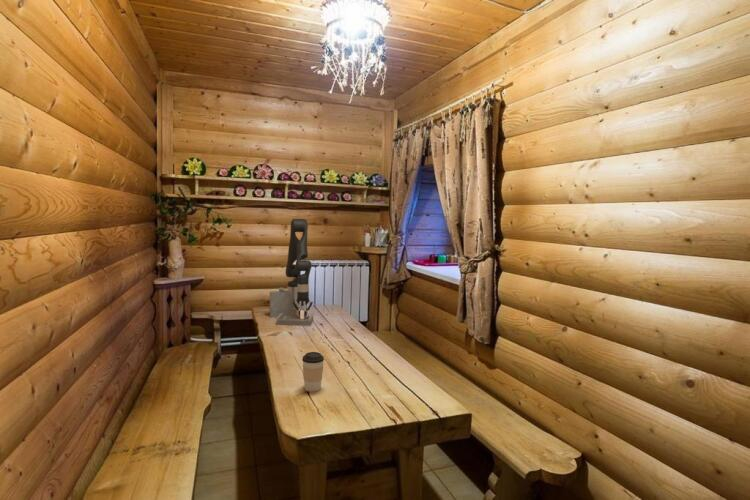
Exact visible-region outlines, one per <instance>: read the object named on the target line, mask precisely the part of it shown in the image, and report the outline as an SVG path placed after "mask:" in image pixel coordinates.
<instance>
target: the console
mask: <svg viewBox="0 0 750 500" xmlns="http://www.w3.org/2000/svg"><path fill="white" fill-rule="evenodd" d="M313 322H314V313H313V314H310V315H309V316H307V315H306V317H305V318H304V319H300V316H299V315H293V316H283V313H281V314H280V315H279V316H278V317H276V325H277V326H300V327H301V326H304V327H305V326H306V327H307V326H309V327H310V326H312V324H313Z"/></svg>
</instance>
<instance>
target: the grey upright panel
mask: <svg viewBox="0 0 750 500" xmlns="http://www.w3.org/2000/svg"><path fill="white" fill-rule="evenodd" d="M281 313H283V316H294V310H293V291H288V290H285V288H284V287H278V290H277V291H269V318H277V317H278V316H279V315H280V314H281Z"/></svg>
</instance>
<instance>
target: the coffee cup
mask: <svg viewBox="0 0 750 500" xmlns="http://www.w3.org/2000/svg"><path fill="white" fill-rule="evenodd" d="M324 360H325V358H324V356H323V355H322V353H321V352H318V351H310V352H306V353H305V354H304V355H303V356H302V360H301V361H302V374H303V384H304V388H303V389H304V391H306V392H310V393H311V392H317V391H318V392H319V391H320V390H321V389H322V380H323V371H324Z"/></svg>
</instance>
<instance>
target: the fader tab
mask: <svg viewBox="0 0 750 500" xmlns="http://www.w3.org/2000/svg"><path fill="white" fill-rule="evenodd" d="M304 311H305V310H304V309H301V311H300V319H304V318H305V317H304Z"/></svg>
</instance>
